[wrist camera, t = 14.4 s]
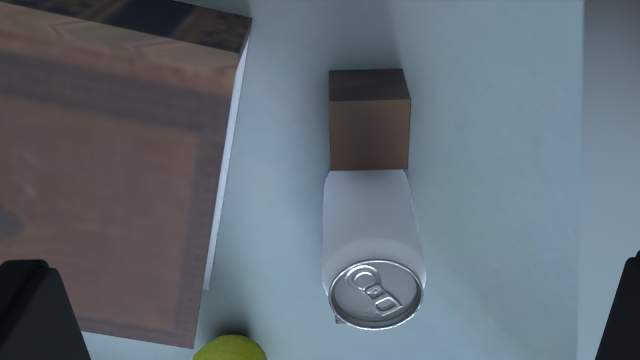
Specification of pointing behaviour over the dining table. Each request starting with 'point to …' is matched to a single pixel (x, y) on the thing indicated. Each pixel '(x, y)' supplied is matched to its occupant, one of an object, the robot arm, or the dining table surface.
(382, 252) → the can
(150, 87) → the book
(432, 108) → the dining table surface
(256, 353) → the fruit
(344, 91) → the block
